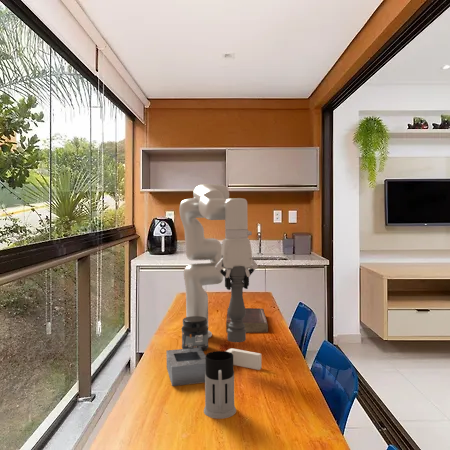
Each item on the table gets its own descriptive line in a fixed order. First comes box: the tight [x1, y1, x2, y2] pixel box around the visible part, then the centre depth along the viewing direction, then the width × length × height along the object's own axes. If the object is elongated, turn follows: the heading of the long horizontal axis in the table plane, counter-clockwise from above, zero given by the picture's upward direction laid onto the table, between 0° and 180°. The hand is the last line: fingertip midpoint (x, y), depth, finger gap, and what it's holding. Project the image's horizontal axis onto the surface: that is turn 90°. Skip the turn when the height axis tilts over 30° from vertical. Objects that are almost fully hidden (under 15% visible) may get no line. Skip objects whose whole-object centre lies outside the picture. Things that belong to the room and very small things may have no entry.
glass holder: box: [203, 350, 237, 420], centre depth 108 cm, size 9×14×15 cm, turn 2°
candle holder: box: [226, 266, 247, 343], centre depth 139 cm, size 6×6×25 cm
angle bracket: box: [225, 348, 262, 371], centre depth 143 cm, size 10×17×5 cm, turn 104°
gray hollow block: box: [166, 347, 206, 387], centre depth 136 cm, size 16×12×6 cm
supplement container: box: [181, 316, 209, 352], centre depth 162 cm, size 10×10×12 cm
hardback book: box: [225, 307, 269, 333], centre depth 199 cm, size 29×19×5 cm, turn 178°
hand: (236, 288), depth 139 cm, fingers closed on candle holder, 5 cm apart
